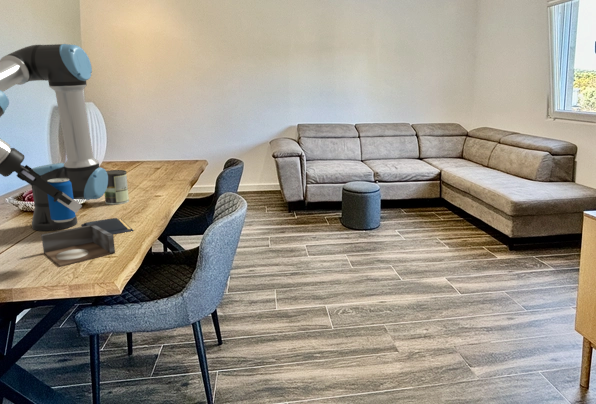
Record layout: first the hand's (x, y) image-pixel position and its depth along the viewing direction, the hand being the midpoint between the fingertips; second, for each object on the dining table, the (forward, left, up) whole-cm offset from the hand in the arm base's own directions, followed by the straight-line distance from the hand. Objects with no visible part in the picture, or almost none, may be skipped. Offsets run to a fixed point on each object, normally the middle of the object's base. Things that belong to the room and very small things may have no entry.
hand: (75, 206), depth 133 cm
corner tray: (-5, +1, -16) cm, 17 cm away
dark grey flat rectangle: (-26, +18, -17) cm, 35 cm away
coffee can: (-63, +37, -16) cm, 75 cm away
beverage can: (0, -4, -4) cm, 5 cm away
